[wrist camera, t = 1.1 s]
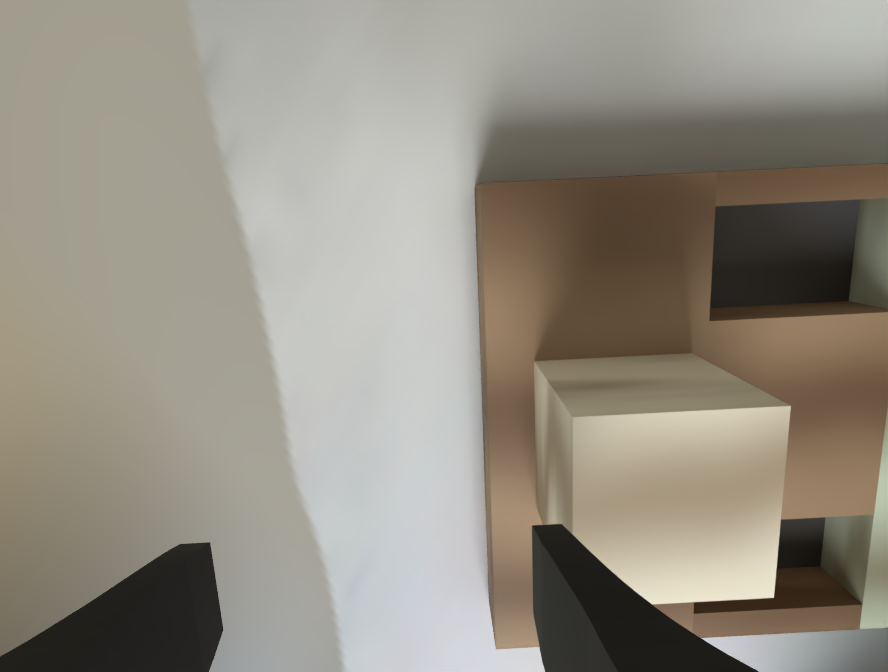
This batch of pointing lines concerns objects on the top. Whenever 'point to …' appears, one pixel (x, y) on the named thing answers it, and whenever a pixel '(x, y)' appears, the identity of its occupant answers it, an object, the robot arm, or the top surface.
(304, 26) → the top surface
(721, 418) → the cream block
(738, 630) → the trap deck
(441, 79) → the top surface
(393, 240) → the top surface
